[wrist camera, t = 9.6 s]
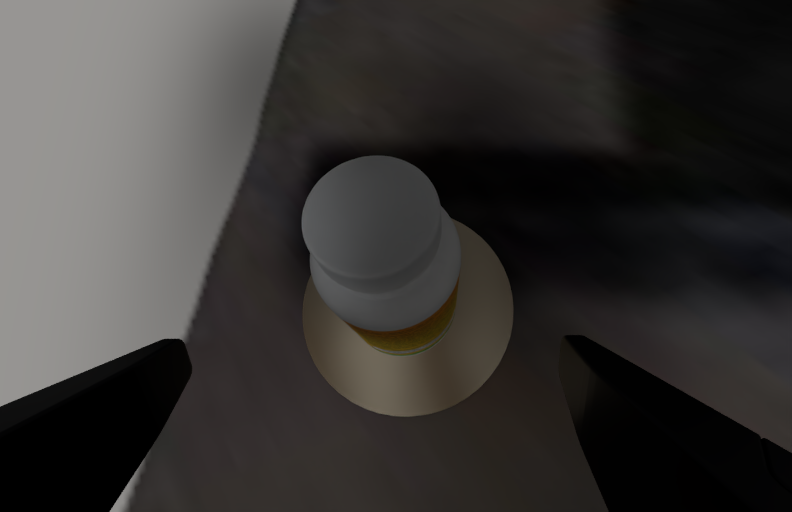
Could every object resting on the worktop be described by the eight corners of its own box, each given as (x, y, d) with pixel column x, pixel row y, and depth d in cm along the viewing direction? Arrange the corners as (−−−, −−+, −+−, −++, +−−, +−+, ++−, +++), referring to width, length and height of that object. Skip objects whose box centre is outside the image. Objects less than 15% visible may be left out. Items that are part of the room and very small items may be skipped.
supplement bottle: (477, 303, 19) (510, 203, 10) (403, 382, 18) (364, 350, 9) (403, 238, 21) (373, 106, 12) (331, 306, 19) (239, 218, 11)
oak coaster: (371, 464, 17) (367, 467, 16) (277, 282, 22) (270, 276, 21) (555, 335, 19) (561, 331, 18) (432, 187, 23) (432, 178, 22)
